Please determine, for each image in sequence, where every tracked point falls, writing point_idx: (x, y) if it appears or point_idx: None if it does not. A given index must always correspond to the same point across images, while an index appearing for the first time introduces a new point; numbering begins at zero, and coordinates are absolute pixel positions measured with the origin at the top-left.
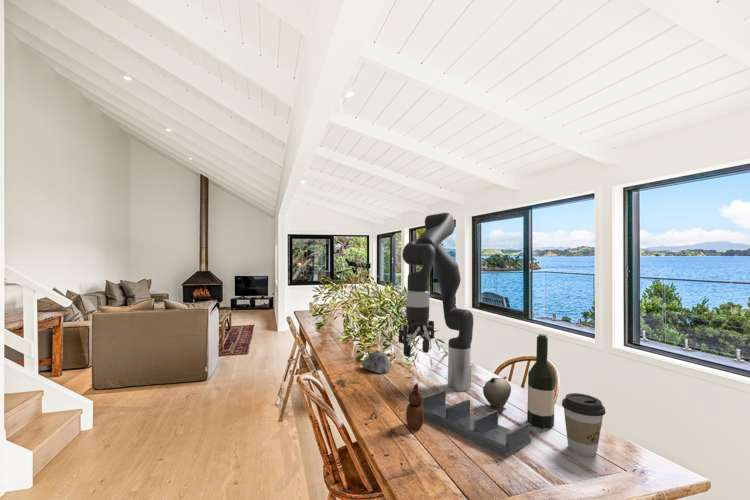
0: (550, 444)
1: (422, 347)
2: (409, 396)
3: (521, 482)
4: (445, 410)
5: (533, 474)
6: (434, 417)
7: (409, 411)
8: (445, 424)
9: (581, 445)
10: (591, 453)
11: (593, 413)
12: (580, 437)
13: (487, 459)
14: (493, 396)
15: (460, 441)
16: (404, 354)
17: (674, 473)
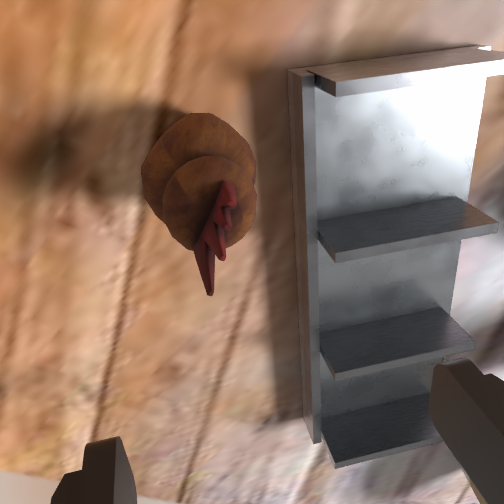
0: None
1: (471, 396)
2: (167, 204)
3: (241, 487)
4: (415, 119)
5: (293, 474)
6: (299, 177)
7: (147, 200)
8: (299, 233)
9: (467, 478)
10: None
11: None
12: (477, 496)
13: (254, 408)
14: None
15: (267, 315)
16: (66, 486)
17: None
